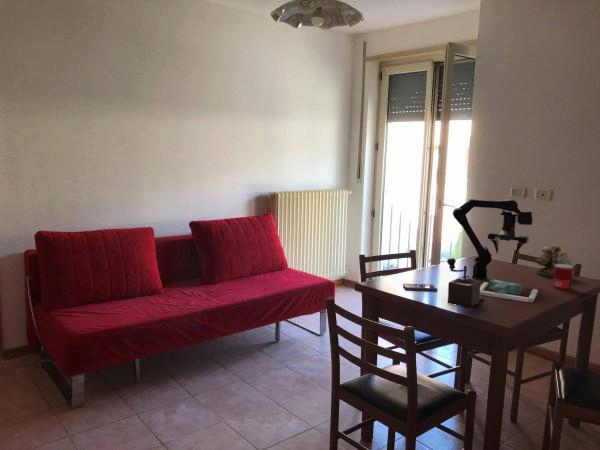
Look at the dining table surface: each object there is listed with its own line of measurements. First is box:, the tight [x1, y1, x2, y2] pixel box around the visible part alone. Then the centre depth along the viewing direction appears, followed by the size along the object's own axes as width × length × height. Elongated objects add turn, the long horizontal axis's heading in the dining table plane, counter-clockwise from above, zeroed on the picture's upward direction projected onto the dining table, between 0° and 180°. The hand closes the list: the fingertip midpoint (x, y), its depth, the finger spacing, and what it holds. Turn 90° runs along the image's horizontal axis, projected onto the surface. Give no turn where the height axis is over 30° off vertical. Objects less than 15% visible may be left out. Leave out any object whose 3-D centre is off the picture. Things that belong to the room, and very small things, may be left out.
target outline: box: [480, 281, 539, 304], centre depth 231 cm, size 24×18×2 cm
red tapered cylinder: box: [552, 264, 574, 291], centre depth 241 cm, size 8×8×11 cm
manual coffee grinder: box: [446, 257, 481, 308], centre depth 217 cm, size 16×11×18 cm
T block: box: [488, 279, 523, 296], centre depth 232 cm, size 14×12×4 cm
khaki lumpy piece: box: [535, 244, 572, 279], centre depth 263 cm, size 18×12×17 cm, turn 40°
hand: (506, 254), depth 255 cm, fingers open, 9 cm apart
